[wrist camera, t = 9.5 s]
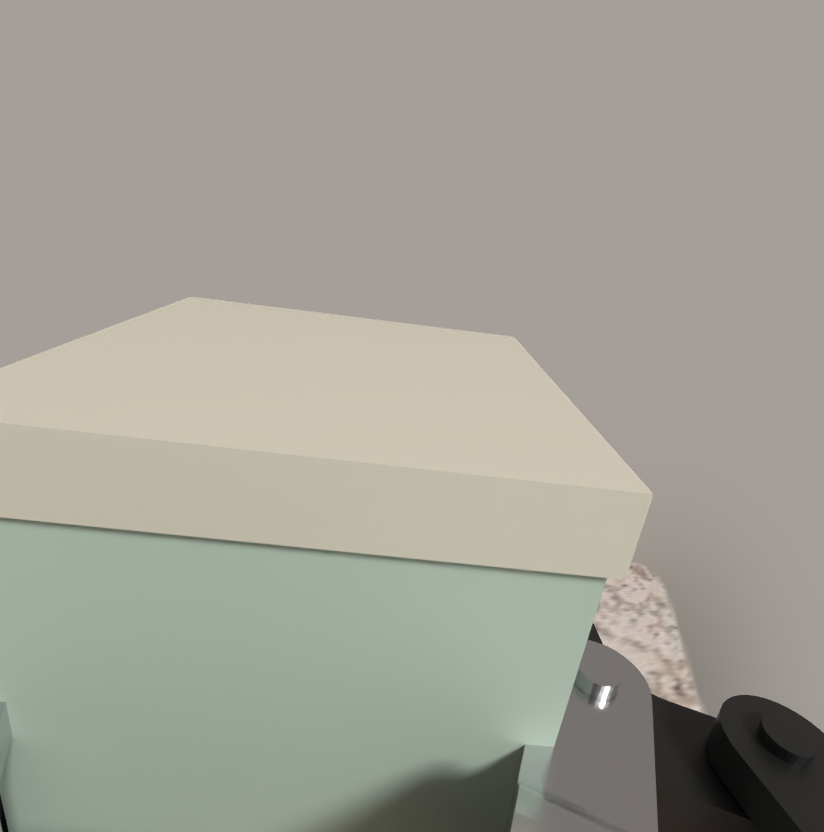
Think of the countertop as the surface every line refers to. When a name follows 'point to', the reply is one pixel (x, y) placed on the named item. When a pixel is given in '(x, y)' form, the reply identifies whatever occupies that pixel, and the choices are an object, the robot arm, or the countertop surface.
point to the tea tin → (292, 572)
